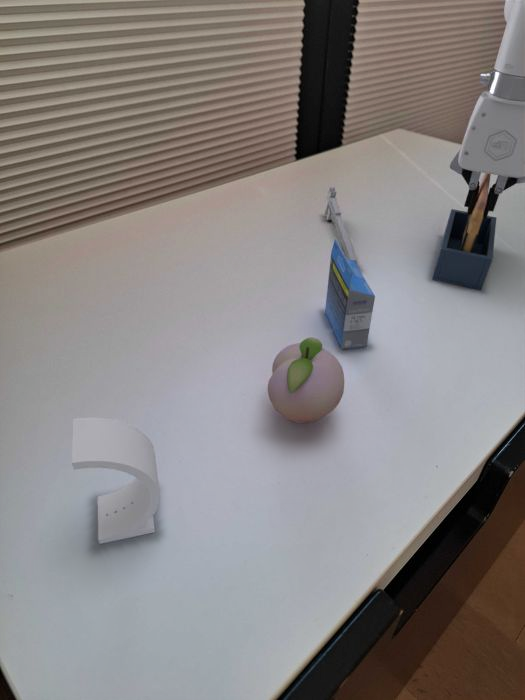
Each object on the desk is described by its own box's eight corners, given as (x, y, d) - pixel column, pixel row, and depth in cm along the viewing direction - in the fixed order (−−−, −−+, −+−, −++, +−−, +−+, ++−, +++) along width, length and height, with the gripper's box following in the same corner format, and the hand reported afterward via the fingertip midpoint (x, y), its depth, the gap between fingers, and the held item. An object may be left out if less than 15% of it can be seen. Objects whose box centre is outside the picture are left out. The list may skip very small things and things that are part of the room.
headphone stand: (98, 501, 50) (73, 418, 42) (161, 489, 51) (147, 406, 43) (99, 544, 46) (71, 463, 38) (166, 530, 47) (152, 448, 40)
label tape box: (367, 347, 69) (384, 269, 61) (338, 350, 68) (351, 271, 60) (348, 309, 75) (361, 234, 67) (322, 311, 75) (331, 235, 67)
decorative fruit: (335, 450, 55) (348, 384, 49) (261, 438, 56) (264, 372, 50) (340, 390, 62) (352, 325, 56) (274, 380, 63) (278, 316, 57)
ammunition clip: (468, 264, 81) (492, 192, 73) (456, 262, 82) (479, 190, 74) (473, 235, 89) (496, 167, 81) (462, 233, 89) (483, 165, 81)
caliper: (323, 215, 99) (327, 184, 95) (329, 215, 99) (333, 184, 95) (351, 271, 83) (357, 237, 79) (357, 271, 83) (364, 236, 79)
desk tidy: (486, 246, 91) (496, 217, 88) (480, 290, 80) (492, 259, 77) (443, 237, 93) (451, 208, 90) (432, 279, 82) (441, 248, 79)
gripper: (455, 85, 68) (423, 213, 80) (583, 101, 64) (529, 233, 76) (461, 74, 74) (430, 195, 86) (579, 87, 70) (529, 212, 82)
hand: (477, 212), depth 81 cm, fingers closed on ammunition clip, 1 cm apart
